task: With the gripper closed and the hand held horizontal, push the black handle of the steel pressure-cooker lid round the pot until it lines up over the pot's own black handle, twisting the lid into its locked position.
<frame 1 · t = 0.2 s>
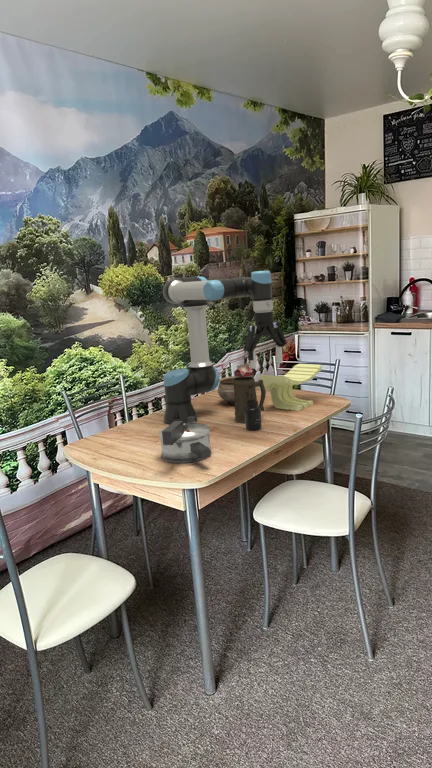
hand: (266, 365, 213), 28 cm above the table, tool pointing down, fingers open, 13 cm apart
slatted curved stool: (292, 406, 261), on the table
cooking pot: (237, 402, 277), on the table
pot: (186, 454, 201), on the table
juice carton: (246, 409, 262), on the table
beer stein: (251, 419, 243), on the table
lid: (181, 427, 196), point 11 cm above the table, hinge at -40.0°
supplement bottle: (253, 429, 228), on the table
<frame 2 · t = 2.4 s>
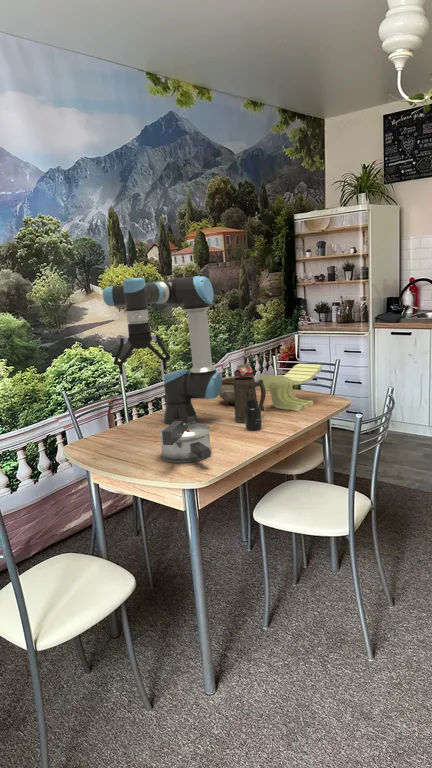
hand: (144, 381, 194), 29 cm above the table, tool pointing down, fingers open, 13 cm apart
nothing on the table moved.
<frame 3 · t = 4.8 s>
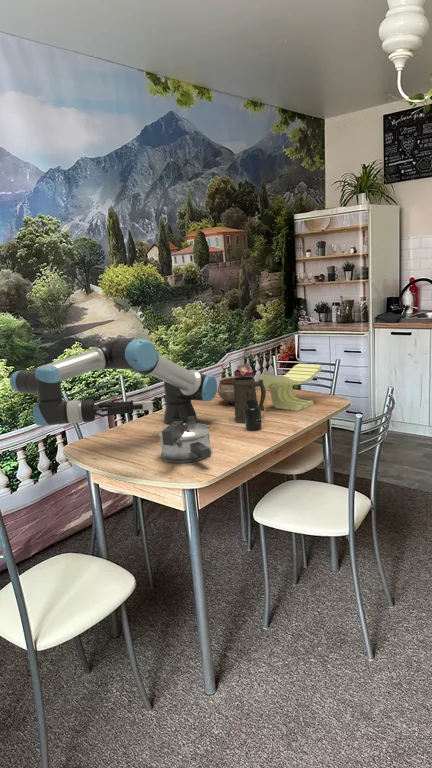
hand: (152, 405, 183), 23 cm above the table, tool horizontal, fingers closed
nothing on the table moved.
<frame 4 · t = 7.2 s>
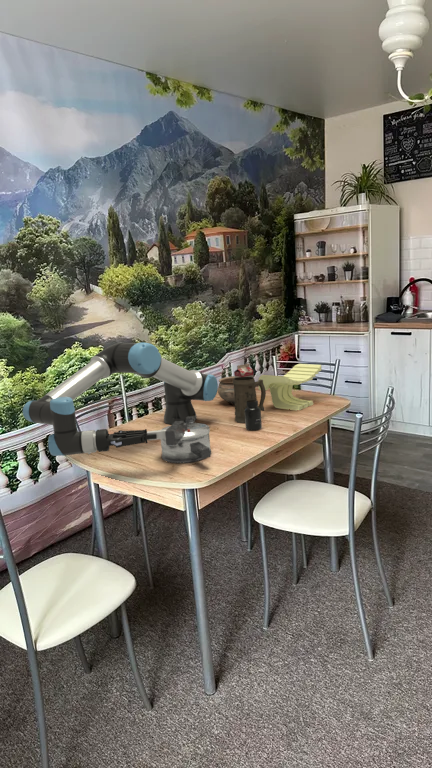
hand: (166, 434, 184), 13 cm above the table, tool horizontal, fingers closed
lid: (181, 427, 196), point 11 cm above the table, hinge at -36.2°, touching gripper
everything else where it was.
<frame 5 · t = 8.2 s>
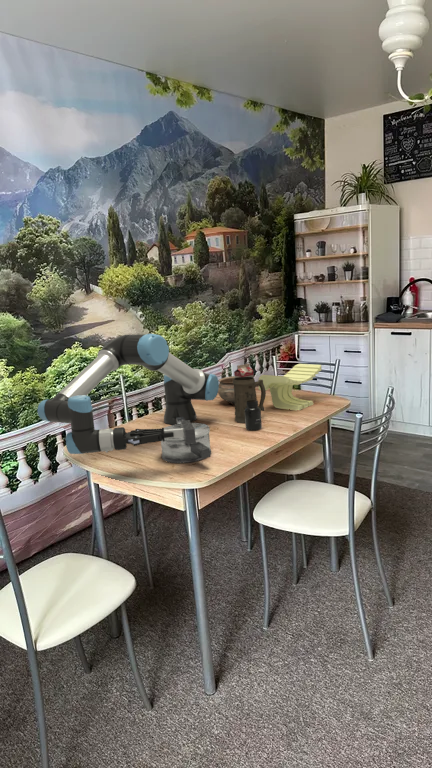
hand: (183, 432, 184), 13 cm above the table, tool horizontal, fingers closed
lid: (185, 427, 196), point 11 cm above the table, hinge at -14.5°, touching gripper
everything else where it was.
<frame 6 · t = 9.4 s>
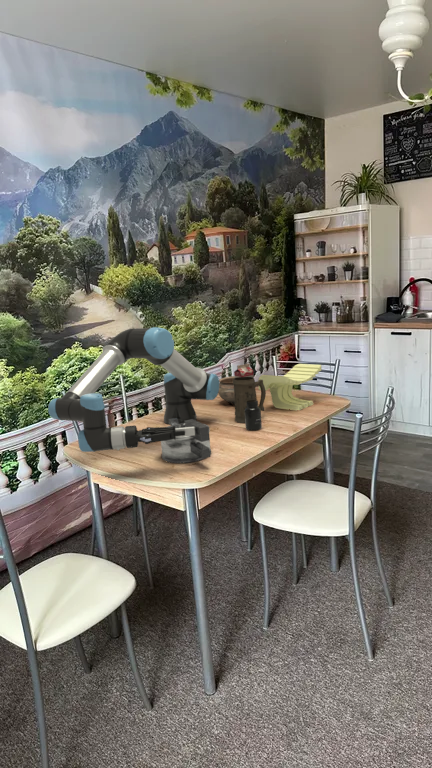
hand: (194, 430, 185), 13 cm above the table, tool horizontal, fingers closed
lid: (187, 427, 196), point 11 cm above the table, hinge at 1.7°, touching gripper
everything else where it was.
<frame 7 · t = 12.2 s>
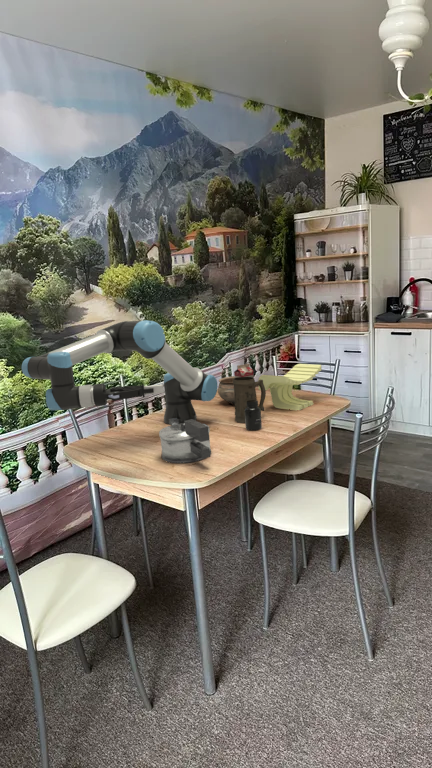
hand: (163, 388, 185), 28 cm above the table, tool horizontal, fingers closed
lid: (187, 427, 196), point 11 cm above the table, hinge at 1.0°
everything else where it was.
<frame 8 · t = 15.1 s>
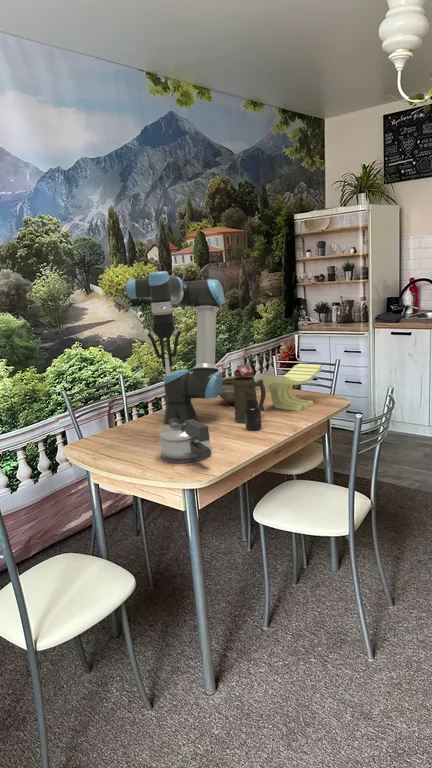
hand: (168, 375, 208), 28 cm above the table, tool pointing down, fingers closed
nothing on the table moved.
at the end: lid at +1° (first picture: -40°) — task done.
